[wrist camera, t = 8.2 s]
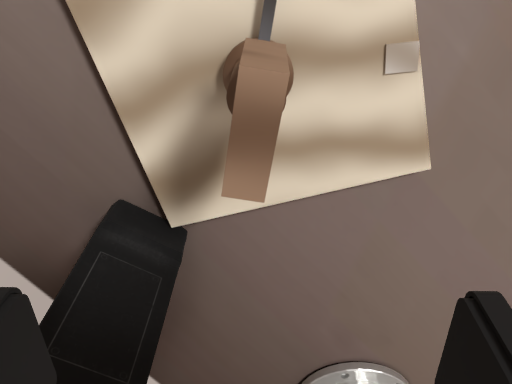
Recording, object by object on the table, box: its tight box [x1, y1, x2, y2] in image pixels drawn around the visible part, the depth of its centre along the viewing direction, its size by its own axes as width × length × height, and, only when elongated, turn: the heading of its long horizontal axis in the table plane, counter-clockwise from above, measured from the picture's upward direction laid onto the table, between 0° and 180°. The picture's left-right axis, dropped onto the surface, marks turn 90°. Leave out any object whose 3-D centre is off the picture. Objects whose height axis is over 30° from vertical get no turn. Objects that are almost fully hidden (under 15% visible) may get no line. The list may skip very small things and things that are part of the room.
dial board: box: [66, 0, 431, 228], centre depth 28 cm, size 20×20×2 cm
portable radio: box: [39, 200, 187, 384], centre depth 26 cm, size 8×6×25 cm
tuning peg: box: [221, 0, 294, 203], centre depth 22 cm, size 12×4×11 cm, turn 171°
